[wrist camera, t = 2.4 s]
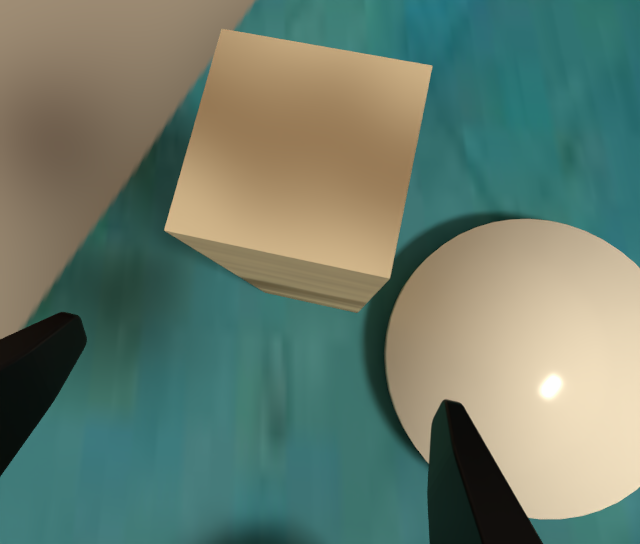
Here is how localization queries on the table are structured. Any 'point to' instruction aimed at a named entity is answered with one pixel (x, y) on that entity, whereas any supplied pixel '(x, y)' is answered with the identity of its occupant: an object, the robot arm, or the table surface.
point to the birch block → (301, 167)
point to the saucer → (527, 359)
